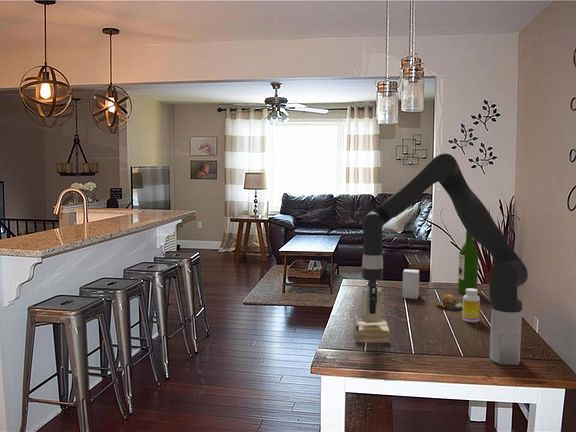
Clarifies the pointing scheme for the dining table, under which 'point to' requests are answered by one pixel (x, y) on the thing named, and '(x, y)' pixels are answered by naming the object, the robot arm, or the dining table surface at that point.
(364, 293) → the skincare box
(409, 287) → the supplement box
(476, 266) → the wine bottle
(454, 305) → the burger
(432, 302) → the dining table surface
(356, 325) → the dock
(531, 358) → the dining table surface
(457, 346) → the dining table surface
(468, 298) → the supplement bottle
